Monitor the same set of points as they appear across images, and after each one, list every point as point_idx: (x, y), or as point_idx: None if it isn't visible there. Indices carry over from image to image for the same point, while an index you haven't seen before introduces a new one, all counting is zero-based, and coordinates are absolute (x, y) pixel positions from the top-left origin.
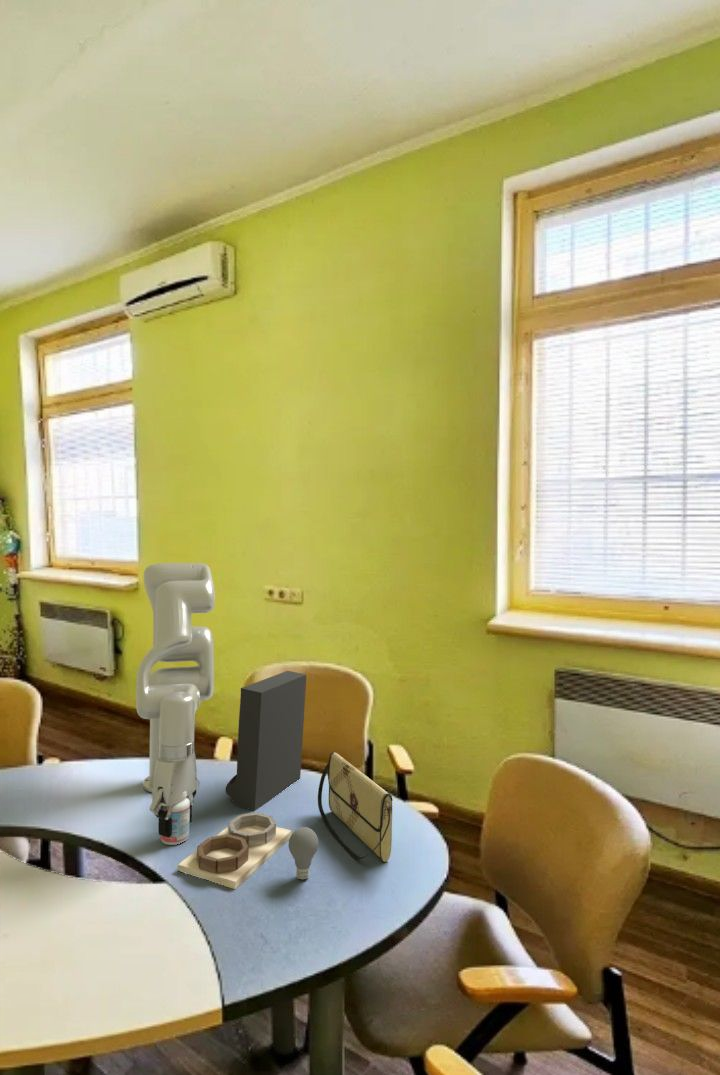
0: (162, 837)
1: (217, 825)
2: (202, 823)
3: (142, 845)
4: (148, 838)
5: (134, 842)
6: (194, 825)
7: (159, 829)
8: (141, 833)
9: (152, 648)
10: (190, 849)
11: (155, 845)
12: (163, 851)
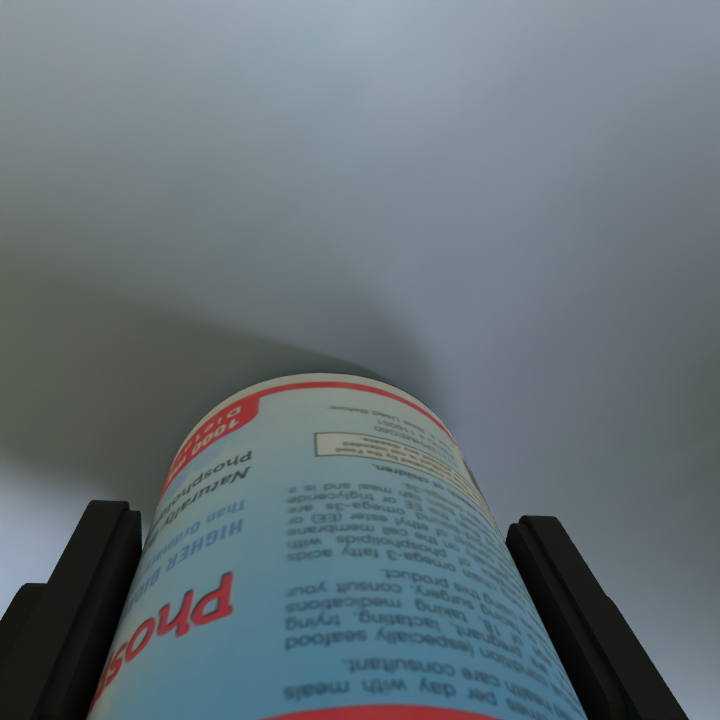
0: (169, 476)
1: (665, 665)
2: (682, 543)
3: (43, 250)
4: (215, 212)
5: (46, 95)
6: (631, 501)
7: (6, 614)
8: (287, 25)
9: None
10: None
11: (121, 390)
12: (66, 530)
